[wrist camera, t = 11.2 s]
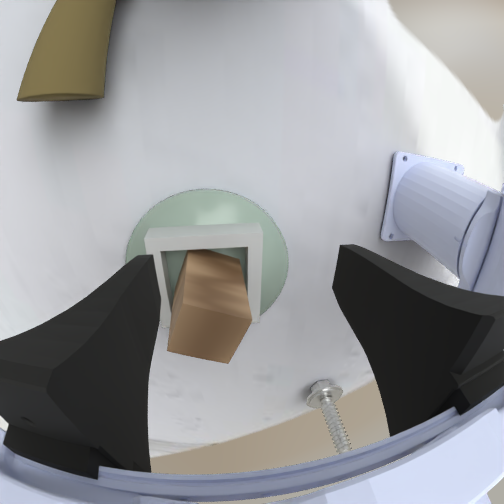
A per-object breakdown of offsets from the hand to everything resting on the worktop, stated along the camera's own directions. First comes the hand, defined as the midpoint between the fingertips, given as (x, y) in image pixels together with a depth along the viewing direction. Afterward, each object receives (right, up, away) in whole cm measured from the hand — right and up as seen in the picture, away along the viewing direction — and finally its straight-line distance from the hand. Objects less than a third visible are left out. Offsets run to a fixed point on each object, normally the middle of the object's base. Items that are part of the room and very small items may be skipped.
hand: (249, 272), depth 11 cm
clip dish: (-4, -1, +12) cm, 12 cm away
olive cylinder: (-12, +10, +1) cm, 15 cm away
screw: (+9, -17, +22) cm, 29 cm away
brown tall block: (-3, -1, +11) cm, 12 cm away
